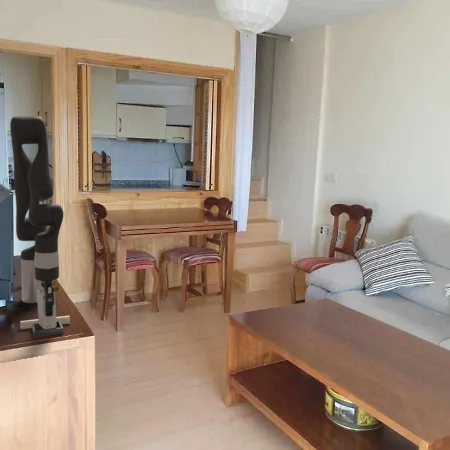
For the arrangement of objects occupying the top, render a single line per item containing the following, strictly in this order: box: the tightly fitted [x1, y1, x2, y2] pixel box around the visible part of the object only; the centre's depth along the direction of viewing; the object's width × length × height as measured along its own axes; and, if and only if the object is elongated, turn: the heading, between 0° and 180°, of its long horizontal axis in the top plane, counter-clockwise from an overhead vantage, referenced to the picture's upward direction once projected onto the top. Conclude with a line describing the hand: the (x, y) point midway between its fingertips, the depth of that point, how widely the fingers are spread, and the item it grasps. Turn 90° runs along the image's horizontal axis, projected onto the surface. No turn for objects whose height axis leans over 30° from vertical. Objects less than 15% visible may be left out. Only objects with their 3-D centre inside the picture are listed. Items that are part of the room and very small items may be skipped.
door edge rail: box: [19, 315, 71, 330], centre depth 165 cm, size 1×16×2 cm, turn 117°
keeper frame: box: [31, 321, 64, 338], centre depth 160 cm, size 7×9×2 cm
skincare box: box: [37, 290, 57, 330], centre depth 159 cm, size 6×4×12 cm
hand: (47, 311), depth 159 cm, fingers open, 8 cm apart
